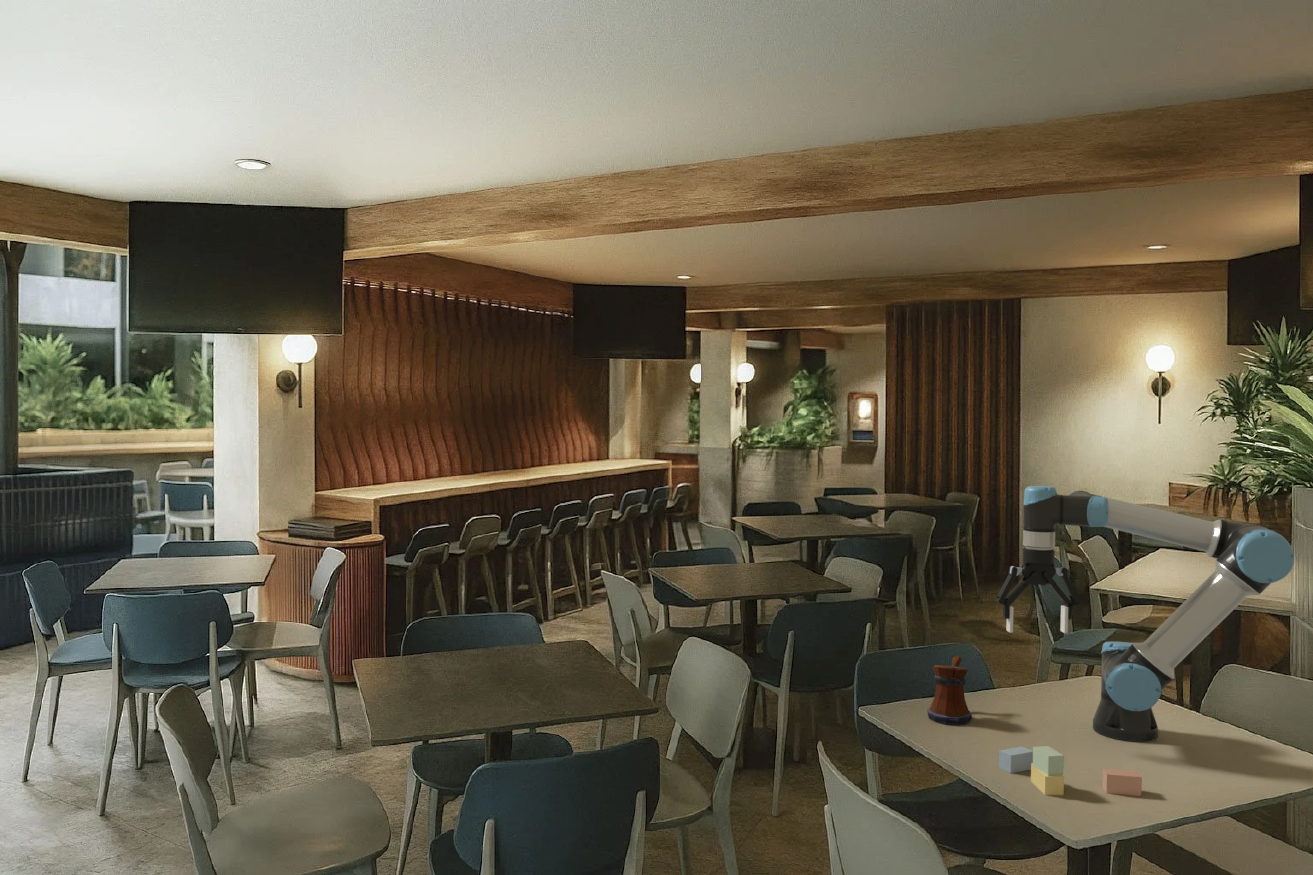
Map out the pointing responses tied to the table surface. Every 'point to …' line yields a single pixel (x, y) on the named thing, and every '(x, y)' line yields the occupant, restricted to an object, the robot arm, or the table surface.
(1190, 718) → the table surface
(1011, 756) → the slate brick
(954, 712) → the mug
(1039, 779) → the ochre brick
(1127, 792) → the terracotta brick
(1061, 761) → the sage brick
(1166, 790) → the table surface
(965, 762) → the table surface
